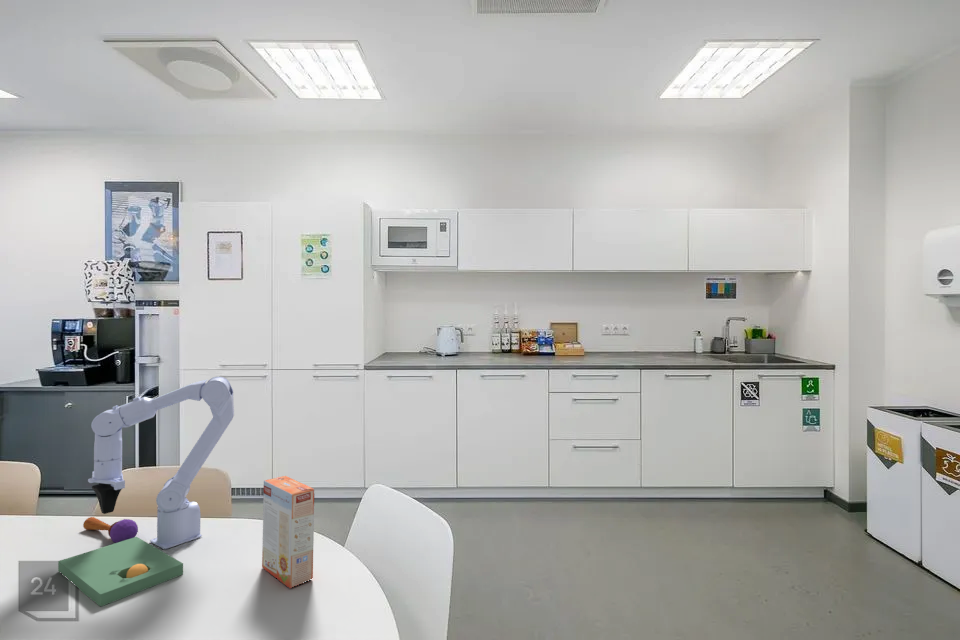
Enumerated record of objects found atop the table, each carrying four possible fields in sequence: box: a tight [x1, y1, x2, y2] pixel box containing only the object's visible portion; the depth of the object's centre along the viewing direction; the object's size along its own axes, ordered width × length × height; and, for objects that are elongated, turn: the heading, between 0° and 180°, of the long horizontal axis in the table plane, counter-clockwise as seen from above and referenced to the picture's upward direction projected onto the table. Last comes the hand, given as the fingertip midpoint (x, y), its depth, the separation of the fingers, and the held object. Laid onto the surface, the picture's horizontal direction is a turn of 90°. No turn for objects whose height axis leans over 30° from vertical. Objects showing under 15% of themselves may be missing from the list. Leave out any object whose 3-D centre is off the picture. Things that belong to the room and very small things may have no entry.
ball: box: [126, 564, 148, 578], centre depth 112 cm, size 4×4×4 cm
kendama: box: [82, 516, 139, 544], centre depth 135 cm, size 6×6×20 cm
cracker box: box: [261, 475, 315, 589], centre depth 117 cm, size 14×6×21 cm, turn 47°
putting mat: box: [57, 536, 184, 607], centre depth 116 cm, size 16×24×2 cm, turn 56°
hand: (107, 512), depth 127 cm, fingers closed
